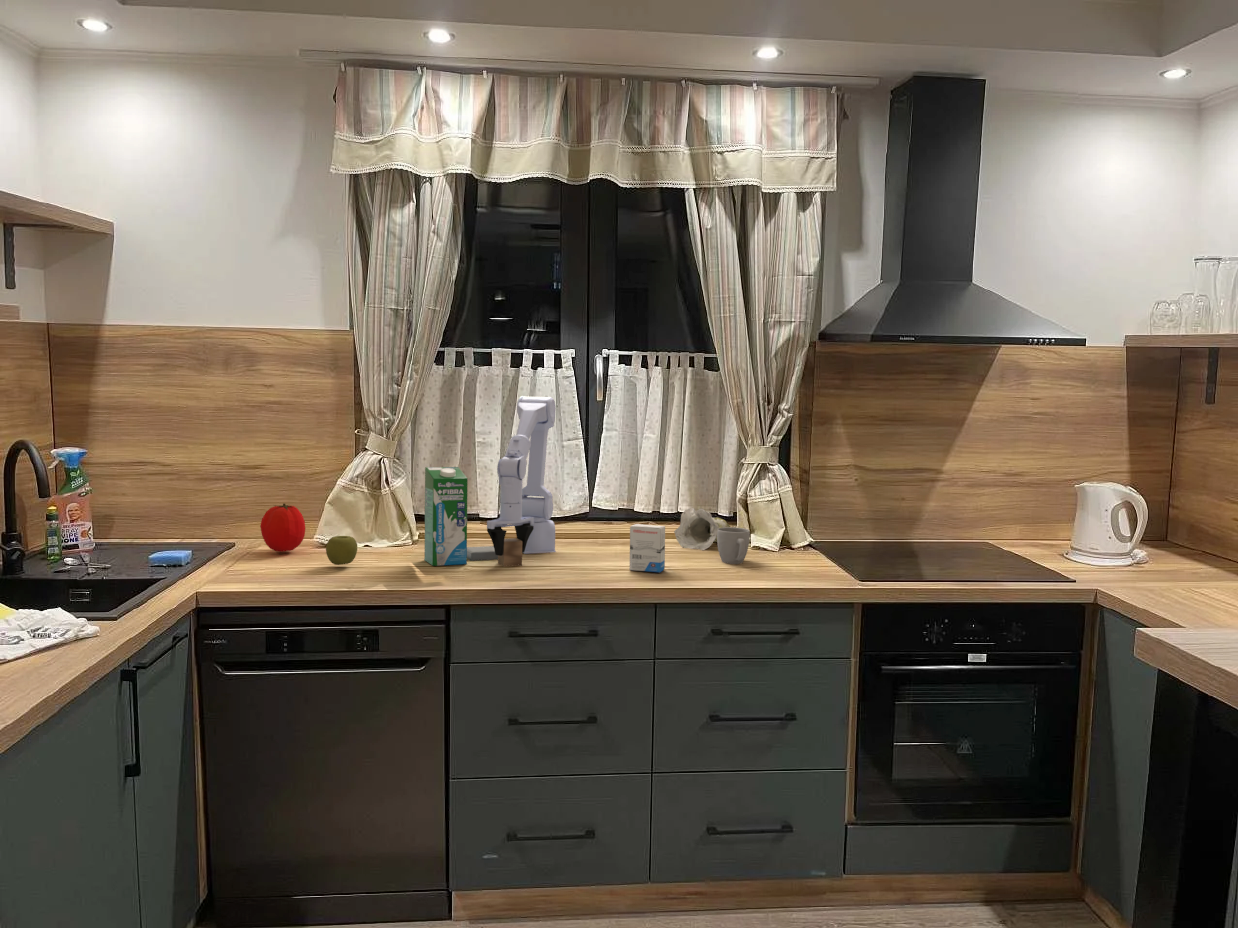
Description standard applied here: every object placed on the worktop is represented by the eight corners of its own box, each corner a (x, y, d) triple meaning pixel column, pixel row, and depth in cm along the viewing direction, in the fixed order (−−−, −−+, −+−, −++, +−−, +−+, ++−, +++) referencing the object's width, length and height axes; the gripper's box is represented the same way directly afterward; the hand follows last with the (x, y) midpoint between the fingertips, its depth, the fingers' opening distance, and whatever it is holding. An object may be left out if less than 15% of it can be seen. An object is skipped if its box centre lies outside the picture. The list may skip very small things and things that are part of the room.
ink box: (665, 569, 244) (666, 525, 243) (659, 573, 240) (661, 528, 239) (634, 566, 247) (635, 522, 246) (628, 570, 243) (629, 525, 242)
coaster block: (493, 554, 261) (494, 545, 261) (503, 560, 253) (503, 551, 253) (462, 556, 257) (462, 547, 257) (470, 562, 249) (471, 552, 249)
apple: (345, 568, 234) (345, 540, 234) (319, 565, 237) (319, 537, 237) (363, 563, 242) (363, 536, 241) (337, 560, 244) (338, 533, 244)
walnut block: (516, 562, 249) (516, 538, 248) (521, 565, 244) (522, 541, 244) (498, 563, 247) (498, 538, 246) (503, 566, 242) (504, 542, 242)
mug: (711, 561, 257) (712, 527, 256) (741, 561, 260) (742, 527, 259) (726, 570, 246) (728, 534, 245) (758, 569, 248) (759, 534, 247)
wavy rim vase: (704, 558, 267) (726, 561, 283) (721, 517, 266) (743, 522, 282) (669, 541, 272) (693, 544, 288) (687, 501, 271) (710, 507, 287)
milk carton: (432, 566, 239) (433, 469, 238) (424, 560, 248) (424, 466, 246) (466, 564, 243) (467, 469, 242) (457, 558, 251) (458, 466, 250)
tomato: (305, 546, 262) (305, 500, 261) (305, 554, 250) (305, 506, 249) (261, 548, 258) (261, 500, 257) (259, 556, 247) (259, 506, 246)
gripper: (521, 499, 252) (520, 548, 253) (479, 502, 242) (478, 554, 243) (539, 501, 248) (538, 552, 249) (497, 505, 237) (496, 558, 238)
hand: (510, 553), depth 245 cm, fingers open, 7 cm apart
